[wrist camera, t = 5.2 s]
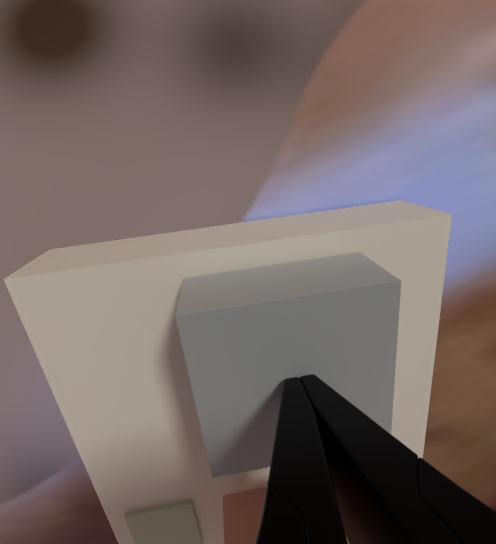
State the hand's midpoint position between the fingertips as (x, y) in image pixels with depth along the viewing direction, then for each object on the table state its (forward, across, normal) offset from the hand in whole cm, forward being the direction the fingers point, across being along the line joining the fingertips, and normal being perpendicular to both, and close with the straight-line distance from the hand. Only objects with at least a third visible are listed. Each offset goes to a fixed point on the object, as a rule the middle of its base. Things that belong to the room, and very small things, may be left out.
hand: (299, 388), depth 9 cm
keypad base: (+6, +1, +12) cm, 13 cm away
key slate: (+2, 0, 0) cm, 2 cm away
